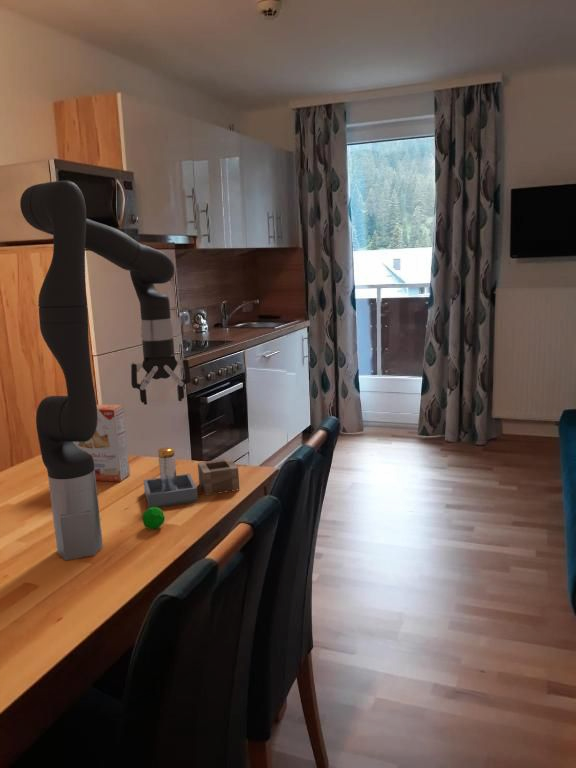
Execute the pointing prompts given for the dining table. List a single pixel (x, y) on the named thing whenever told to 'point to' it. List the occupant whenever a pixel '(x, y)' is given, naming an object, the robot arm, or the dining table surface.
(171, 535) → the dining table surface
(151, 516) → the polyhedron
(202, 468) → the wooden crate
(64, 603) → the dining table surface
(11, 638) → the dining table surface
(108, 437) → the cracker box
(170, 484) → the gold capped jar
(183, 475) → the slate tray
